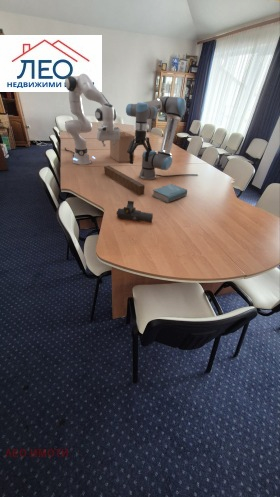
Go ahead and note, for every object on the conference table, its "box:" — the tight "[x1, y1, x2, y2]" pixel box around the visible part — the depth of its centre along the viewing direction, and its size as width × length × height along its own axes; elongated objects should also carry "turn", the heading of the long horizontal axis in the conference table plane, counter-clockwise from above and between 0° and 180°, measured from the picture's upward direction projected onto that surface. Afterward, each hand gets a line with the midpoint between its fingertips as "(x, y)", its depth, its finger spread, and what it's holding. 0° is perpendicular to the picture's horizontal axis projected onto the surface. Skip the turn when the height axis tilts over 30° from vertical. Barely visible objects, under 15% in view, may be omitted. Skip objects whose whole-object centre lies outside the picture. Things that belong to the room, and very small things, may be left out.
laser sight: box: [116, 200, 154, 223], centre depth 136 cm, size 10×22×10 cm, turn 78°
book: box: [152, 183, 188, 204], centre depth 172 cm, size 23×16×5 cm
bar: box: [103, 165, 145, 196], centre depth 187 cm, size 56×5×7 cm, turn 36°
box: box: [109, 129, 135, 163], centre depth 244 cm, size 44×36×27 cm
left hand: (109, 145), depth 188 cm, fingers open, 8 cm apart
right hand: (139, 162), depth 161 cm, fingers open, 13 cm apart
